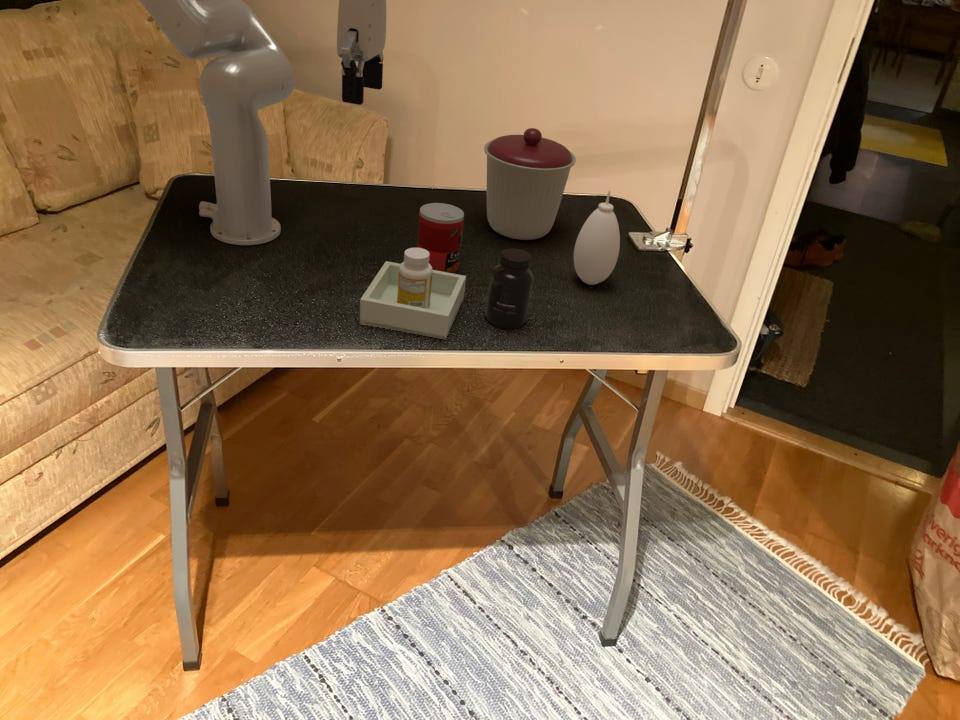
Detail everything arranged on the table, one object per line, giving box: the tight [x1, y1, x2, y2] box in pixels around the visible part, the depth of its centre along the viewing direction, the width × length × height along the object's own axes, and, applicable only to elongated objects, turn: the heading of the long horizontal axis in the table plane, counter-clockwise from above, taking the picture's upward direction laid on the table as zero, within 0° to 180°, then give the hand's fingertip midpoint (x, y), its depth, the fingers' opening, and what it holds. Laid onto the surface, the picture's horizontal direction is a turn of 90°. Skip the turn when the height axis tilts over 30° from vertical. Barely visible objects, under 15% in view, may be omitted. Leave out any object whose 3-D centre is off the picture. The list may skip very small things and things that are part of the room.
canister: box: [483, 127, 577, 241], centre depth 149 cm, size 18×18×21 cm
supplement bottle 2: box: [485, 247, 534, 330], centre depth 121 cm, size 7×7×12 cm
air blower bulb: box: [573, 190, 621, 286], centre depth 134 cm, size 8×8×18 cm
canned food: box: [416, 202, 465, 274], centre depth 134 cm, size 8×8×11 cm
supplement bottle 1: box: [397, 247, 433, 309], centre depth 120 cm, size 5×5×10 cm
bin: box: [359, 260, 467, 341], centre depth 122 cm, size 14×14×4 cm
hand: (362, 95), depth 117 cm, fingers open, 9 cm apart
